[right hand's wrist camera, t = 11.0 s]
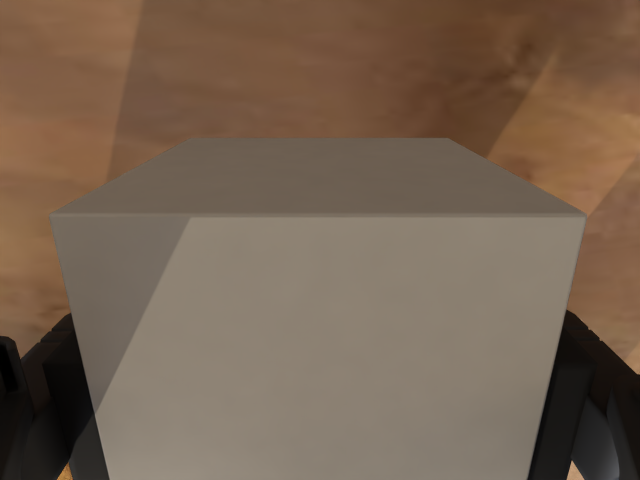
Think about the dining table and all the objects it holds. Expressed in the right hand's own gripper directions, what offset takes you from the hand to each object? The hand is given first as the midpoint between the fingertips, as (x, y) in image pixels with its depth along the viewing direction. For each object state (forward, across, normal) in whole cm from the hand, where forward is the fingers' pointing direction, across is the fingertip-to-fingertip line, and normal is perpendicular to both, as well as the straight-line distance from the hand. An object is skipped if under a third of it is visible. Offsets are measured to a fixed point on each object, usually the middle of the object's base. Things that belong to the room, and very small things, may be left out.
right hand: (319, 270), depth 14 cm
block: (+1, 0, 0) cm, 1 cm away
